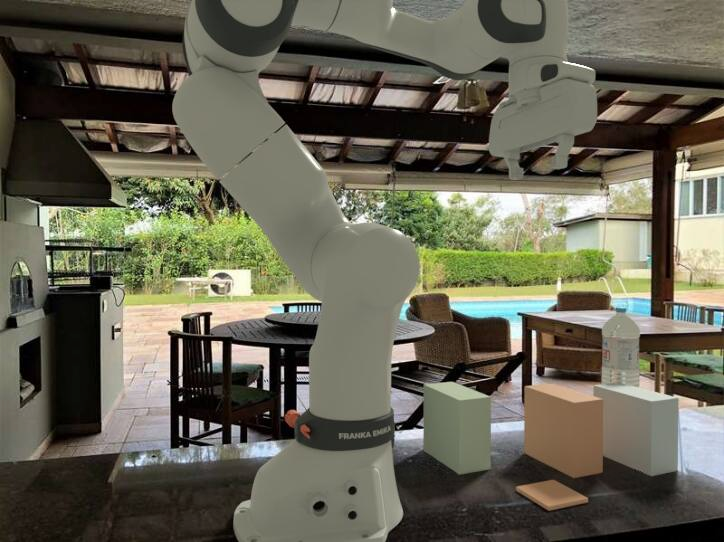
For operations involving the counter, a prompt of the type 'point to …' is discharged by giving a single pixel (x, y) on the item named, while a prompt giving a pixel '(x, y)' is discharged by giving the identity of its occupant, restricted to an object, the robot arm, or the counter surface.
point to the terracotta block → (564, 429)
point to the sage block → (457, 427)
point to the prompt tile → (551, 495)
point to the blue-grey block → (639, 427)
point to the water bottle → (620, 350)
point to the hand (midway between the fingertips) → (536, 174)
